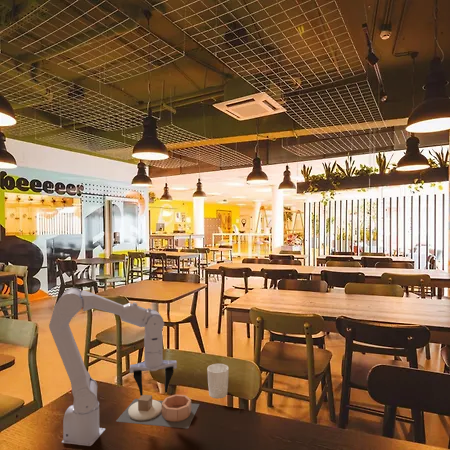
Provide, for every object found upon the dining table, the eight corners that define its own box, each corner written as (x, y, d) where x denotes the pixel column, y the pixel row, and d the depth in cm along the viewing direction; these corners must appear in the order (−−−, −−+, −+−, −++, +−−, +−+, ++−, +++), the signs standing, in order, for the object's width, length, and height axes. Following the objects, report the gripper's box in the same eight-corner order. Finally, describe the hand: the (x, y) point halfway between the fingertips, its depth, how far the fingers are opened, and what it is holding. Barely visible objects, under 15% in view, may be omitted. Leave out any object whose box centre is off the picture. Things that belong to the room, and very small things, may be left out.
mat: (115, 422, 105) (115, 421, 105) (135, 400, 119) (135, 398, 119) (188, 430, 101) (188, 428, 101) (199, 405, 114) (199, 404, 114)
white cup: (215, 403, 116) (215, 374, 116) (203, 394, 122) (203, 367, 122) (233, 396, 121) (232, 368, 121) (220, 387, 127) (220, 361, 127)
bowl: (158, 420, 105) (158, 408, 105) (168, 405, 114) (168, 393, 114) (185, 423, 103) (185, 410, 103) (193, 407, 112) (193, 395, 112)
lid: (122, 418, 106) (122, 404, 106) (137, 401, 117) (136, 388, 117) (154, 422, 104) (154, 407, 104) (166, 403, 115) (166, 390, 115)
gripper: (129, 356, 99) (129, 401, 99) (177, 352, 103) (177, 395, 102) (130, 348, 106) (130, 390, 106) (175, 344, 109) (176, 385, 109)
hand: (153, 392), depth 105 cm, fingers open, 7 cm apart
